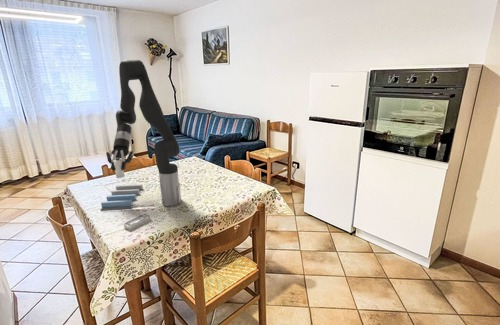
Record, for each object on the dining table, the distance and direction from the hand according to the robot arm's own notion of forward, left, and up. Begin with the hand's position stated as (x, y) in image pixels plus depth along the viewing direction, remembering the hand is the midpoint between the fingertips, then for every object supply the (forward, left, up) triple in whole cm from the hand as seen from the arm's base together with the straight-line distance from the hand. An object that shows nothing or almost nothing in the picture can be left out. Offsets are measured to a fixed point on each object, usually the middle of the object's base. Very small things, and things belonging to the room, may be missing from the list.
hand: (117, 169), depth 136 cm
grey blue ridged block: (0, -3, -18) cm, 18 cm away
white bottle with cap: (0, -2, -5) cm, 5 cm away
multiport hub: (-14, +25, -18) cm, 34 cm away
